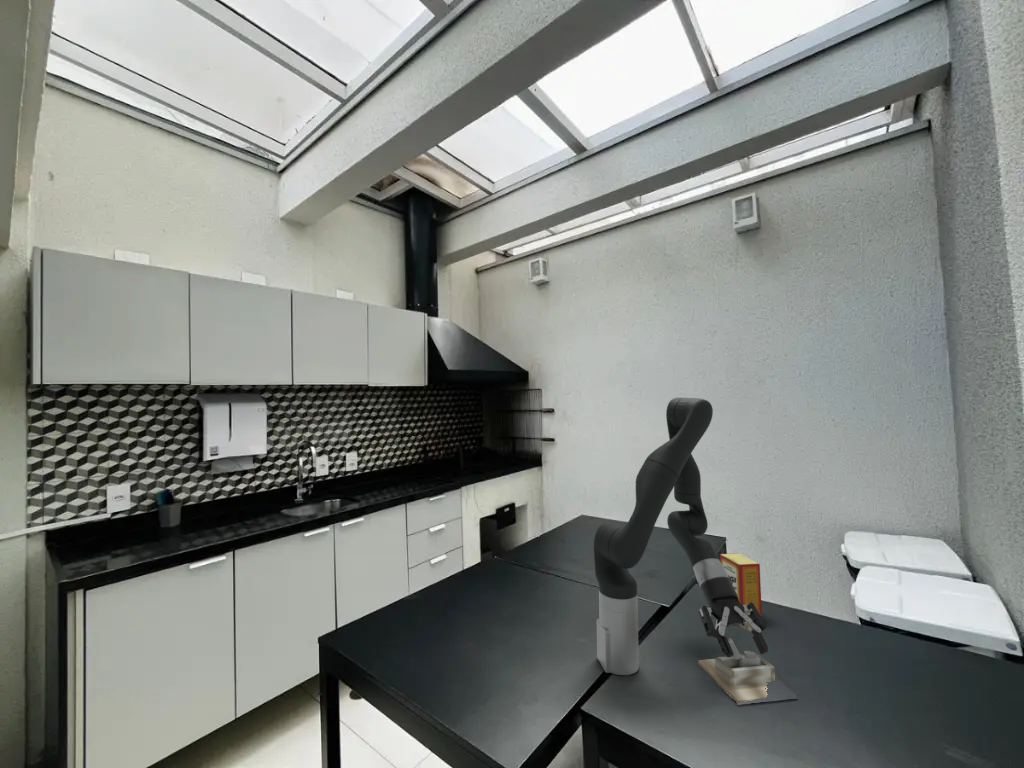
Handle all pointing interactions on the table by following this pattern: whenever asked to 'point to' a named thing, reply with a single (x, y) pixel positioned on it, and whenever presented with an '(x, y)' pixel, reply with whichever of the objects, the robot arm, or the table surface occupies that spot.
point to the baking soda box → (744, 578)
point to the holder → (740, 677)
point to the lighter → (744, 656)
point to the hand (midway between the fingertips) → (747, 654)
